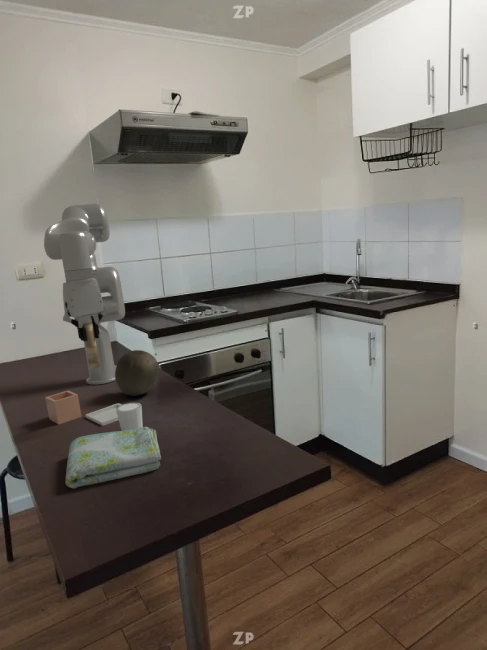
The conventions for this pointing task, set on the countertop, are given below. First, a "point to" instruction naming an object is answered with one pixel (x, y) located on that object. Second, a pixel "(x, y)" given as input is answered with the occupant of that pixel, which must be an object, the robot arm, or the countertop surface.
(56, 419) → the cup
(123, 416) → the shot glass
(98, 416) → the tray
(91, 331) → the dowel
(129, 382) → the cantaloupe
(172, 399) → the countertop surface
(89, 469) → the towel
